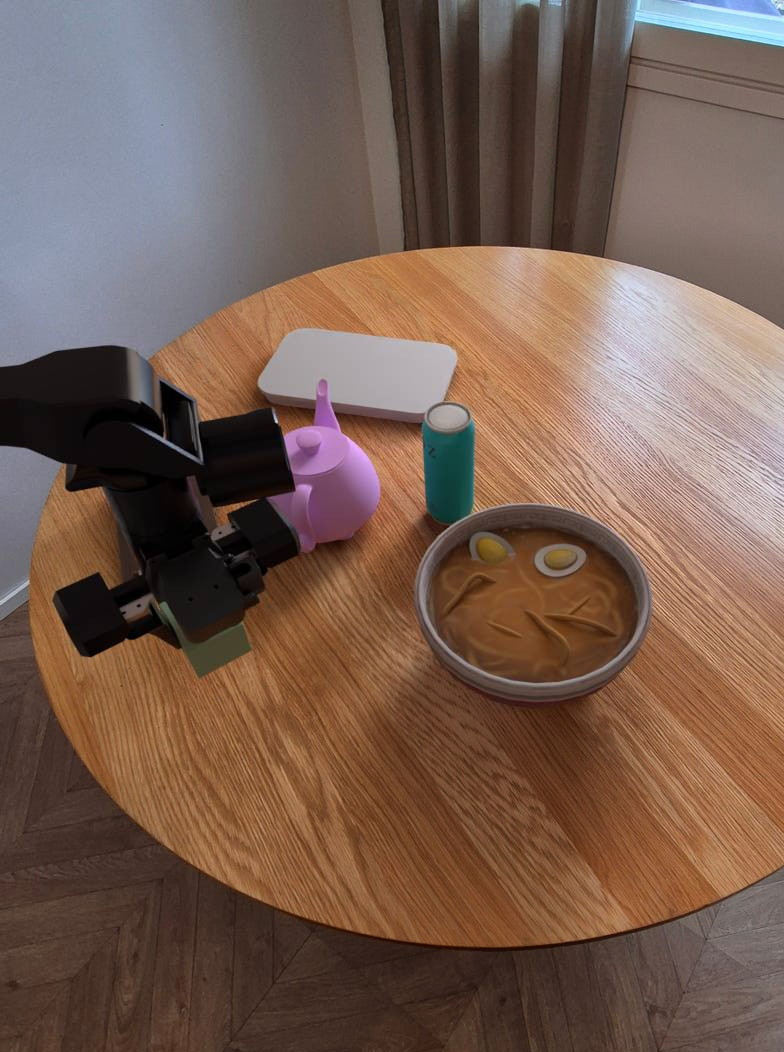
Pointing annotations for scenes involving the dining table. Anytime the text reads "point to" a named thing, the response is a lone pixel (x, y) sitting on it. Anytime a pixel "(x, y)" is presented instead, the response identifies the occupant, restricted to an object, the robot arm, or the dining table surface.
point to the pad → (210, 646)
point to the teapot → (327, 480)
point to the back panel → (126, 556)
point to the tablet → (359, 373)
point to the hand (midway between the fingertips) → (206, 631)
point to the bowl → (532, 604)
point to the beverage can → (448, 461)
